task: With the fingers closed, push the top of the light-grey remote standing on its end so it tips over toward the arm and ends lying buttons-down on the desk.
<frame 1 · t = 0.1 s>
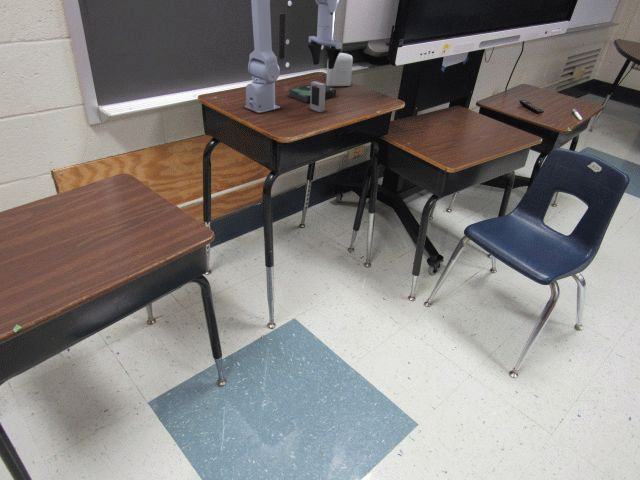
hand: (323, 66, 166), 10 cm above the table, tool pointing down, fingers open, 7 cm apart
disk drive: (312, 96, 168), on the table
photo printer: (338, 86, 183), on the table
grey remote: (317, 109, 155), on the table
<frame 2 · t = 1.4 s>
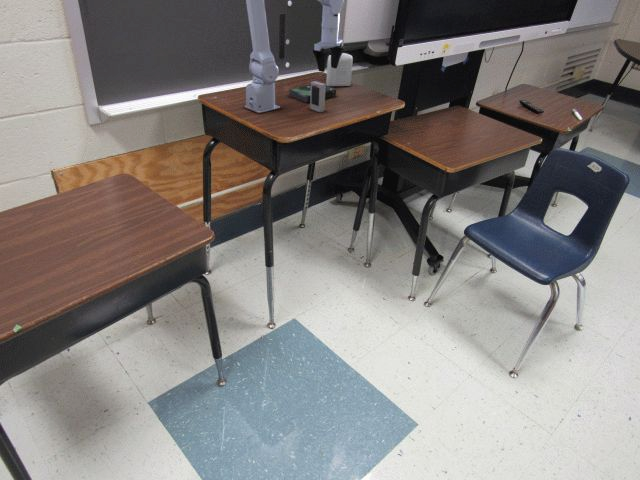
hand: (327, 69, 161), 10 cm above the table, tool pointing down, fingers open, 7 cm apart
nothing on the table moved.
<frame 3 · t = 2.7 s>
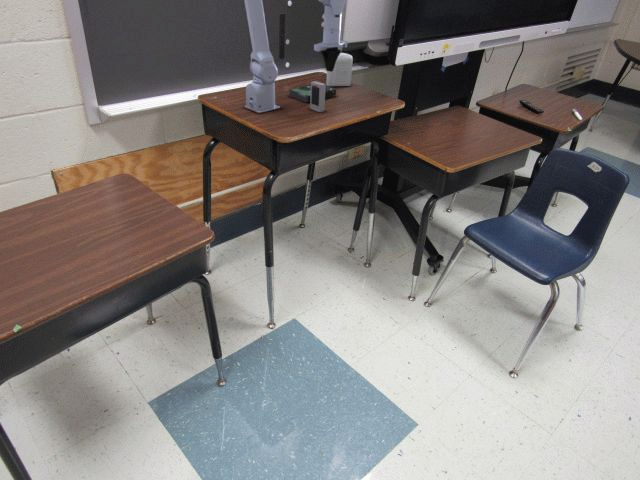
hand: (329, 70, 159), 10 cm above the table, tool pointing down, fingers closed
nothing on the table moved.
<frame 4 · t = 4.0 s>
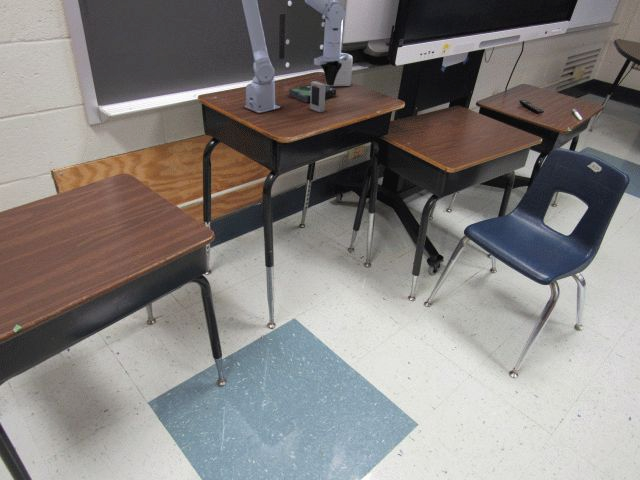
hand: (330, 84, 154), 8 cm above the table, tool pointing down, fingers closed
nothing on the table moved.
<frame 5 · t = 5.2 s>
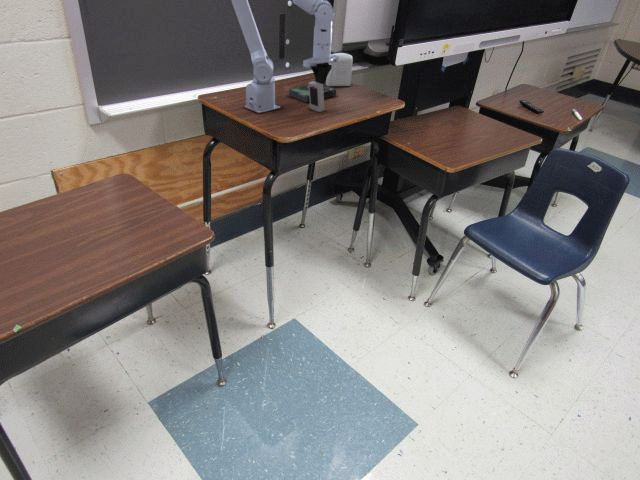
hand: (320, 87, 151), 8 cm above the table, tool pointing down, fingers closed
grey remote: (317, 109, 155), on the table, tilted 8°, touching gripper
everything else where it was.
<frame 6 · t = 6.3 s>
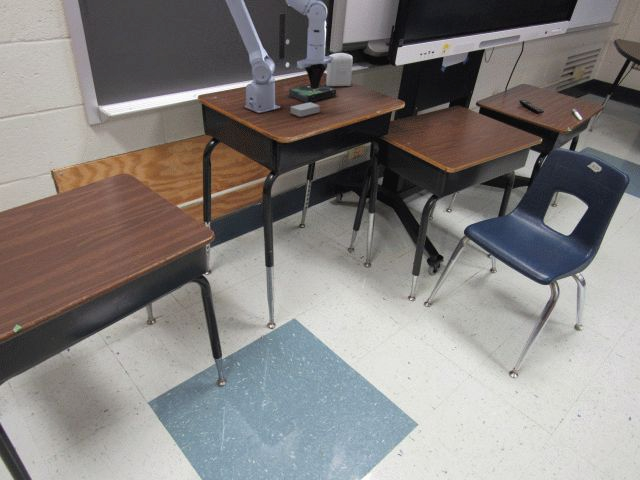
hand: (314, 88, 150), 8 cm above the table, tool pointing down, fingers closed
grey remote: (314, 107, 154), point 1 cm above the table, tilted 89°
everything else where it was.
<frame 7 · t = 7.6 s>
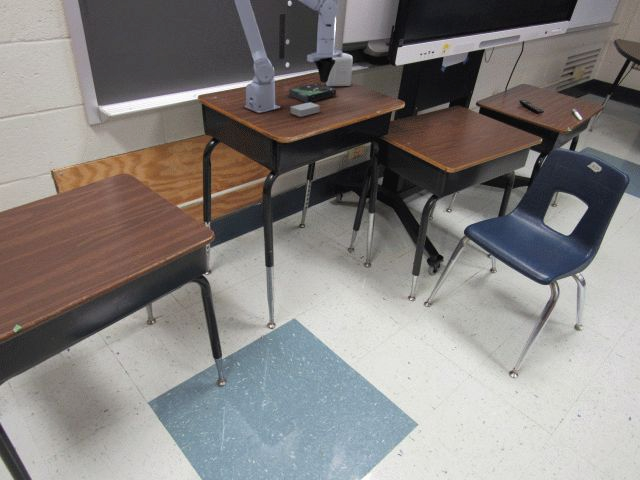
hand: (323, 81, 153), 9 cm above the table, tool pointing down, fingers closed
nothing on the table moved.
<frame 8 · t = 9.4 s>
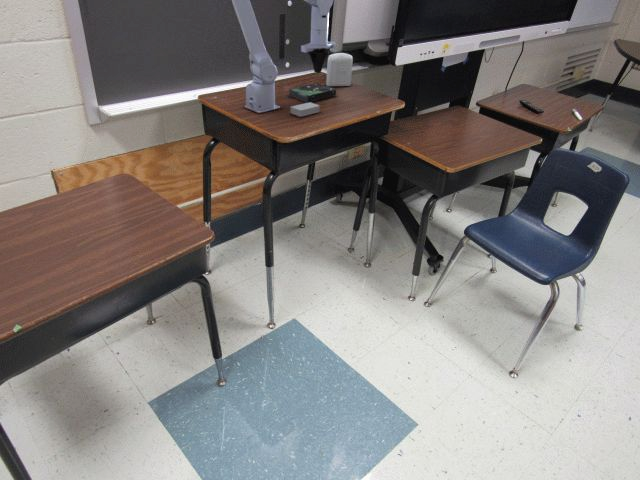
hand: (317, 72, 157), 10 cm above the table, tool pointing down, fingers closed
nothing on the table moved.
at the end: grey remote tilted 89°; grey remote inside the target area (0.2 cm from its centre), point 1.2 cm above the table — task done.
